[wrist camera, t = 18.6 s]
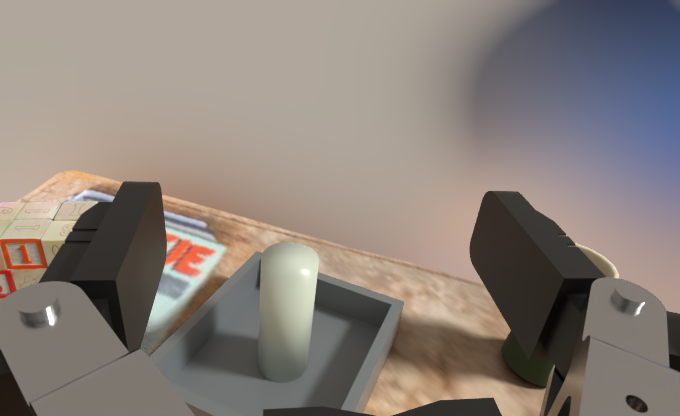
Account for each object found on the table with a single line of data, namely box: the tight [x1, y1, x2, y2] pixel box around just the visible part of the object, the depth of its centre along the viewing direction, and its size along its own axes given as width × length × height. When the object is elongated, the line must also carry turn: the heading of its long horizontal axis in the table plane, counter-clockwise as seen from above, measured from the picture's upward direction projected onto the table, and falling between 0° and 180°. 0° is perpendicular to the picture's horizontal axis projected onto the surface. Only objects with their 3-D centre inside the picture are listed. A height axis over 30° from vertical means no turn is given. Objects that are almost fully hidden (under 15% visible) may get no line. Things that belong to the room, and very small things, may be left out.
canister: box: [258, 242, 319, 383], centre depth 41 cm, size 5×5×12 cm
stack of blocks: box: [0, 201, 98, 301], centre depth 44 cm, size 21×6×12 cm, turn 99°
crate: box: [149, 251, 404, 416], centre depth 44 cm, size 17×19×4 cm
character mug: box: [502, 243, 619, 386], centre depth 45 cm, size 11×7×13 cm, turn 90°
